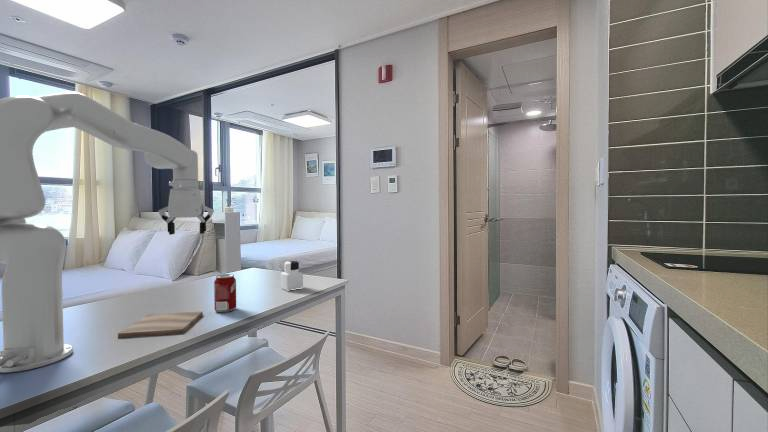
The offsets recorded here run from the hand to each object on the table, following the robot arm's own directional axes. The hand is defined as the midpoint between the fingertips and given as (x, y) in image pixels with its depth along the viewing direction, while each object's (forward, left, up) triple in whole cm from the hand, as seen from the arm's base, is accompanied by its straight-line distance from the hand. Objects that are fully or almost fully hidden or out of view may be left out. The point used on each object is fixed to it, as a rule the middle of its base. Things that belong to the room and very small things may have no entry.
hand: (187, 233), depth 116 cm
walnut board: (-18, 0, -26) cm, 32 cm away
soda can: (-6, -14, -26) cm, 30 cm away
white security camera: (+20, -34, -26) cm, 47 cm away
